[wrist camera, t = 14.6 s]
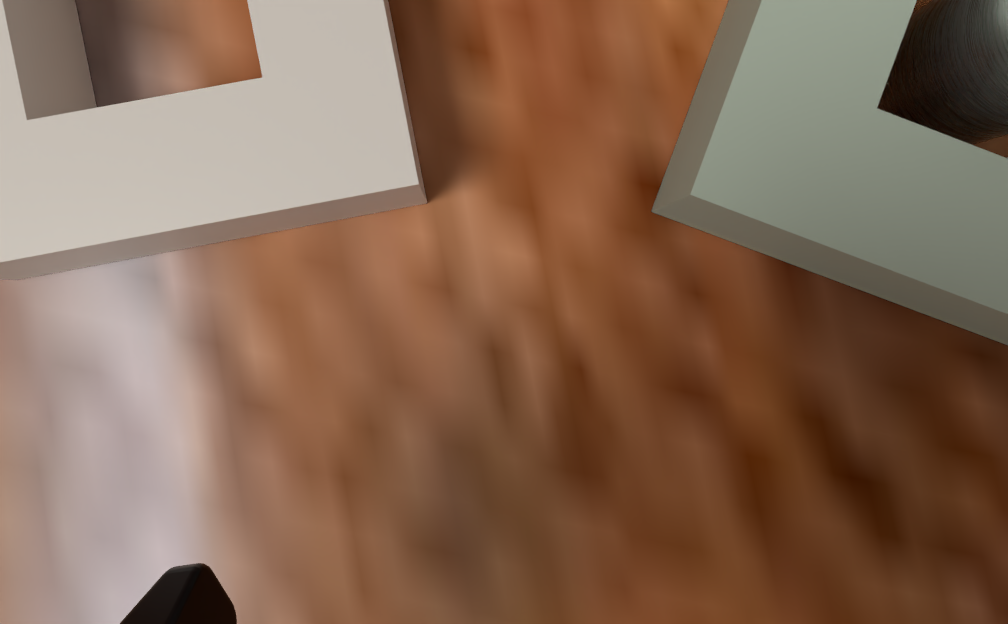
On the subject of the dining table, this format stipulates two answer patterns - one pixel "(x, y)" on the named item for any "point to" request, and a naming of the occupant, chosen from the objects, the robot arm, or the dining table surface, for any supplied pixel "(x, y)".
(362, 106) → the socket block
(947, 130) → the metal cylinder
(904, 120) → the block
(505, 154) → the dining table surface
